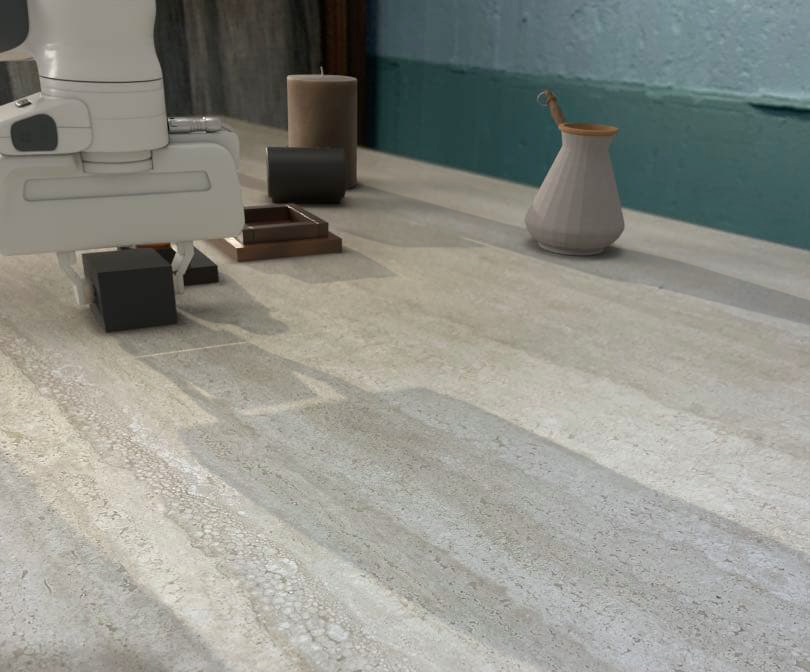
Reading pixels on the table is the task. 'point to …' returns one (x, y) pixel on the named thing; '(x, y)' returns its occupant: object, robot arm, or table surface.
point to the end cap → (306, 174)
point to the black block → (131, 289)
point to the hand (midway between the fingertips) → (130, 298)
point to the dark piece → (197, 270)
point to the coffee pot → (577, 191)
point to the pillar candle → (324, 115)
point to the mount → (279, 234)
